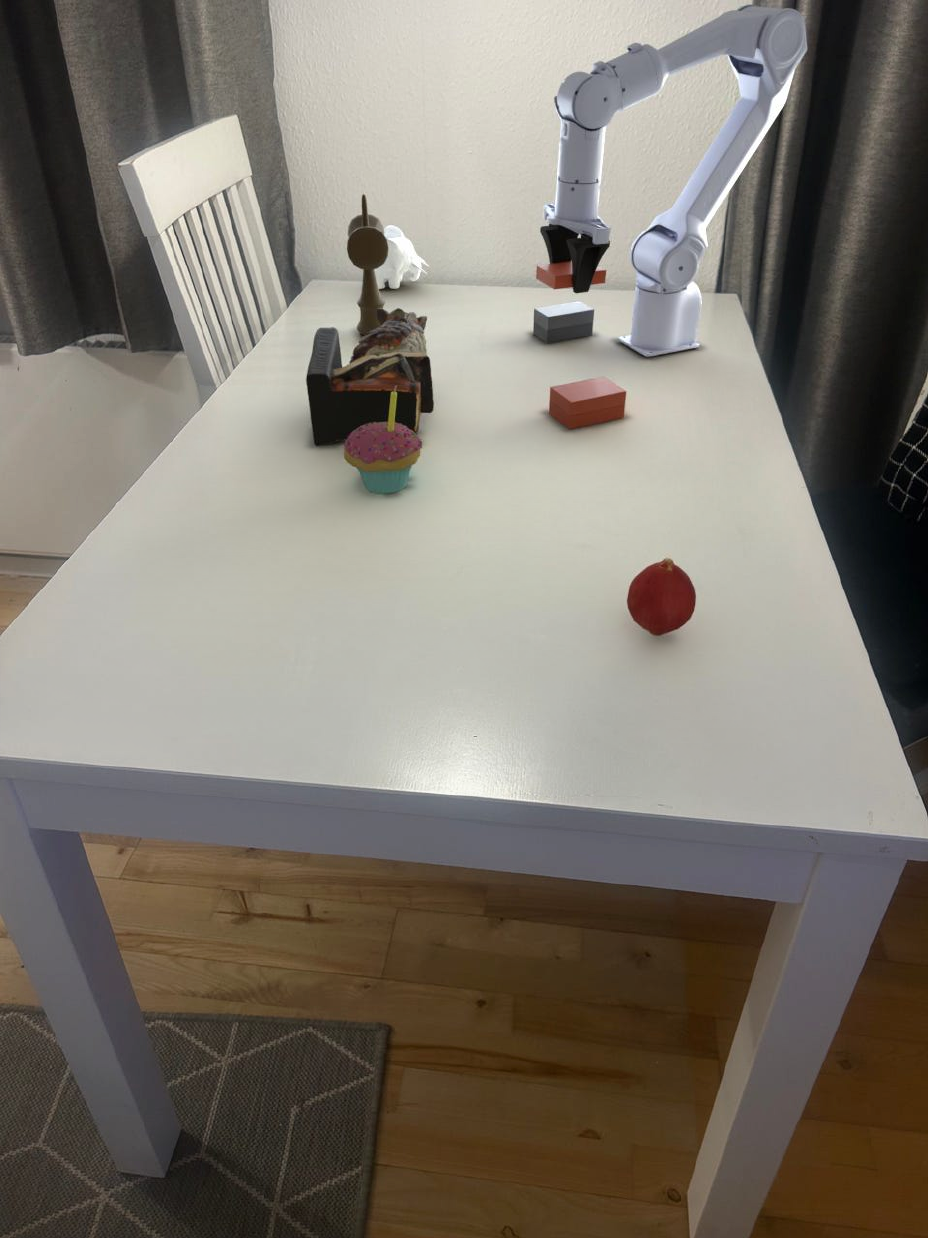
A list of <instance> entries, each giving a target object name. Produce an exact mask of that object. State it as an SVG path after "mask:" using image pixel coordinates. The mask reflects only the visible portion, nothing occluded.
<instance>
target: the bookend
mask: <svg viewBox="0 0 928 1238" xmlns="http://www.w3.org/2000/svg"><path fill="white" fill-rule="evenodd" d="M376 316H377V319H378V321H379V323H380V324H381V327H379V328H376V329H374V330H373V331H370V332H368V333H366V335H363V337H362V338H360V339H359V341H358V344H357V345H356V346H355V347H354V348H353V350H352V355H351V357H350V360H349V363H348V364H347V365H345V366H343V362H342V361H343V359H342V352H341V351H342V350H341V344H340V343H341V342H340V335H339V331H338V328H336V327H334V326H331V327H319V328H318V329H317V330H316V332H315V334H314V338H313V342H312V343H313V344H312V351H311V355H310V360H309V363H308V366H307V372H306V377H305V382H306V383H305V385H306V391H307V396H308V404H309V413H310V423H311V429H312V435H313V444H314V445H315V446H321V445H327V444H329V445H330V444H333V445H334V444H336V443H337V442H338V441H346V440H347V438H348V437H347V436H348V435H349V434H350V433H352V431H354V430H356V429H357V428H359V427H360V426H362V425H364V424H367V423H368V424H370V423H373V422H376V423H377V422H385V421H386V422H388V419H389V408H390V398H391V392H394V387H395V386H397V387H396V392H397V400H396V410H395V420H394V422H396V423H399V424H400V423H401V424H402V425H405V426H407V428H409V429H410V430H413V432H414V433H416V434H417V432H418V431H419V428H420V421H421V414H432V413H433V412H434V406H435V403H434V393H433V392H434V389H433V377H432V366H431V359H430V357H429V356H428V354H427V353H428V352H427V338H426V336H425V328H426V327H427V326H426V325H427V321H428V316H427V315H421V316H418V315H417V314H416V313H415V312H414V311H412V312H410V311H409V312H406V311H404V310H403V309H401V308H395V309H393V310H392V311H390V312H389V311H388V310H386V309H384V308H383V309H381V308H379V309H377V311H376Z"/></svg>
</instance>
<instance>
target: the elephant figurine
mask: <svg viewBox="0 0 928 1238" xmlns="http://www.w3.org/2000/svg"><path fill="white" fill-rule="evenodd" d="M384 236H385V237H386V239H387V243H388V247H389V248H388V257H387V259H386V261H385V263H384V264H383V265H382V266H380V267H379V268H377V269H374V270H375V275H376V280H377V284H378V289H379V290H383V289H385V287H386V283H387V282H388V287H389V288H390V289H393V290H397V289H399V288H400V286H401V282H402V281H403V275H404V274H405V273H406V272H409V275H408V277H407V278H408V280H409V281H412V282H416V281H417V280H419V278H420V275H421V272H422V273H423V274H427V275H428V272H427V271H426V270H424V269H423V268H422V264H423V265H424V266H427V267H430V265H429V264H428V263H427V262H426V261H425V260H424V259H422V257H420V256H419V255H417V252H416V251H415V248H414V245H413V243H412V241H410V240H409V239H408V238H407V237H405V235H404V232H403V231H402V230H401V228H399V227H397V226H396V225H391V224H390V225H387V226H385V227H384Z"/></svg>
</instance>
